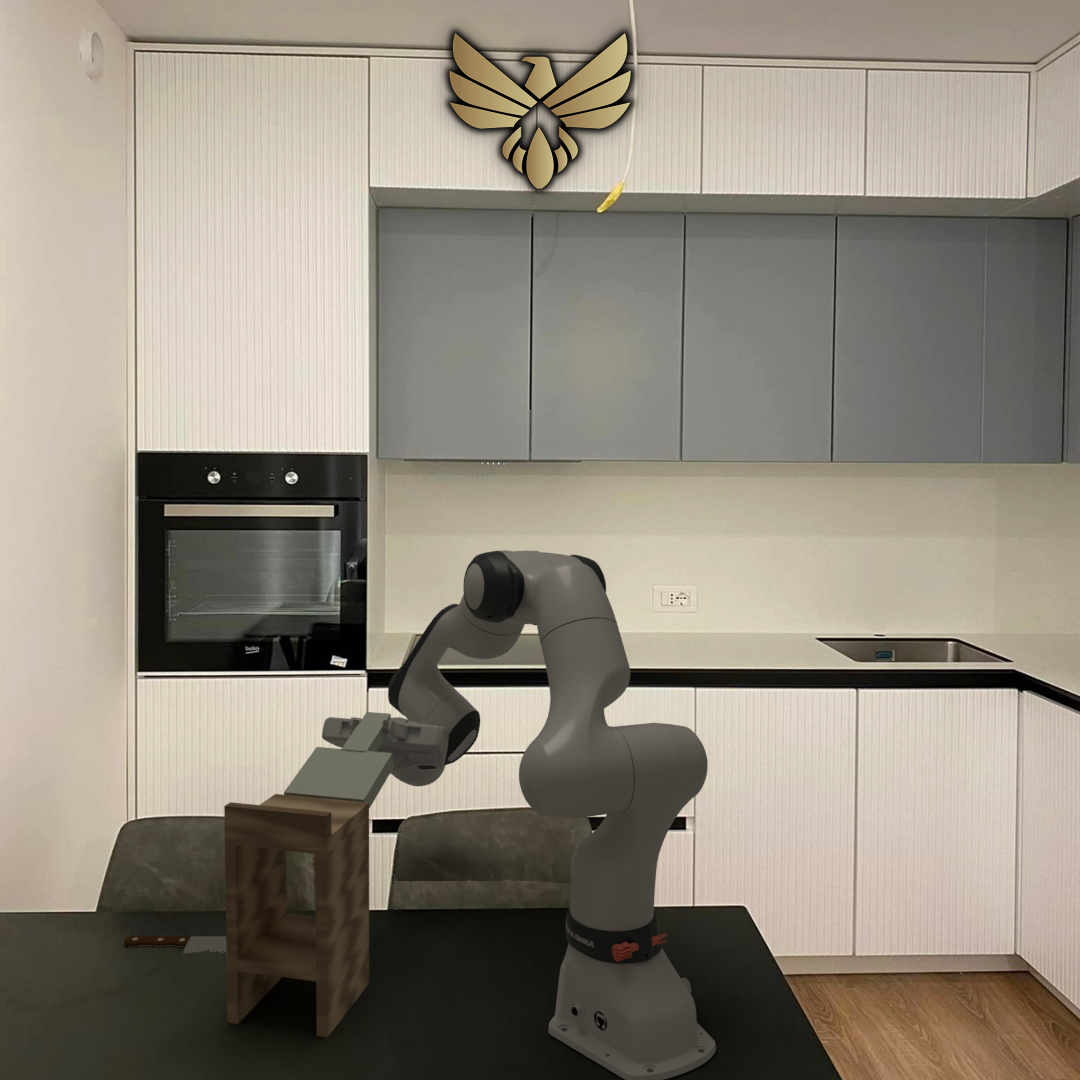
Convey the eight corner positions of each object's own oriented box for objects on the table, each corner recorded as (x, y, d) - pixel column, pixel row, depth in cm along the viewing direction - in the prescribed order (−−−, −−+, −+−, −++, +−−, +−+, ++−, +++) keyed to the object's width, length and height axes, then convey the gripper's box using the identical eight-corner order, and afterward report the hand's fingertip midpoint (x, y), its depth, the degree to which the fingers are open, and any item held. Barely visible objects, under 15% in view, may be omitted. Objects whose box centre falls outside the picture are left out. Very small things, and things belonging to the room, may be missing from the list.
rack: (277, 970, 152) (275, 773, 150) (369, 983, 149) (369, 781, 146) (227, 1022, 139) (224, 806, 136) (327, 1037, 136) (326, 816, 133)
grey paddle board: (345, 723, 171) (343, 710, 170) (416, 729, 168) (414, 715, 167) (286, 806, 151) (283, 792, 150) (365, 814, 149) (363, 799, 148)
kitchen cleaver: (106, 963, 153) (132, 928, 163) (107, 970, 153) (132, 934, 163) (277, 966, 153) (292, 930, 163) (277, 973, 154) (292, 937, 163)
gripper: (343, 722, 181) (312, 699, 169) (458, 731, 177) (435, 708, 165) (335, 759, 179) (304, 738, 166) (452, 769, 174) (428, 749, 162)
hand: (370, 723), depth 165 cm, fingers closed on grey paddle board, 4 cm apart
